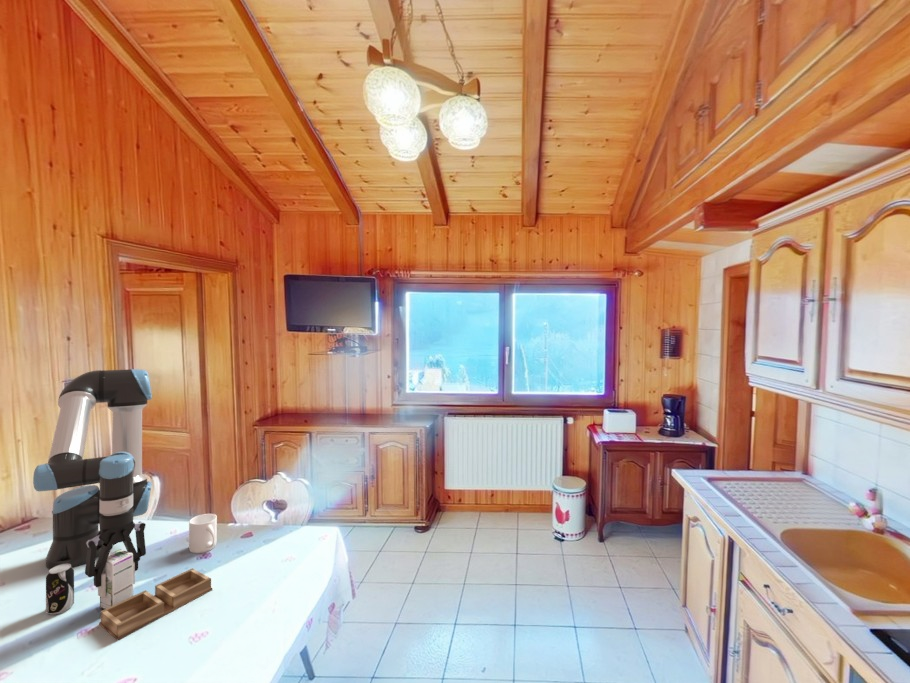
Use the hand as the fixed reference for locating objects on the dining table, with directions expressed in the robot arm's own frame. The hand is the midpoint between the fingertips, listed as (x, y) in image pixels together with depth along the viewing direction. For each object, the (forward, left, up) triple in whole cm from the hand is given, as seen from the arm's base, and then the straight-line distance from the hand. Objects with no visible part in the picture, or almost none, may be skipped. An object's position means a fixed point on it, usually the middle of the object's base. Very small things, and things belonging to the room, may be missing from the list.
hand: (116, 589), depth 118 cm
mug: (-9, +30, -5) cm, 32 cm away
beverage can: (-11, -9, -5) cm, 15 cm away
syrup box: (0, 0, -5) cm, 5 cm away
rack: (+11, +6, -5) cm, 13 cm away
